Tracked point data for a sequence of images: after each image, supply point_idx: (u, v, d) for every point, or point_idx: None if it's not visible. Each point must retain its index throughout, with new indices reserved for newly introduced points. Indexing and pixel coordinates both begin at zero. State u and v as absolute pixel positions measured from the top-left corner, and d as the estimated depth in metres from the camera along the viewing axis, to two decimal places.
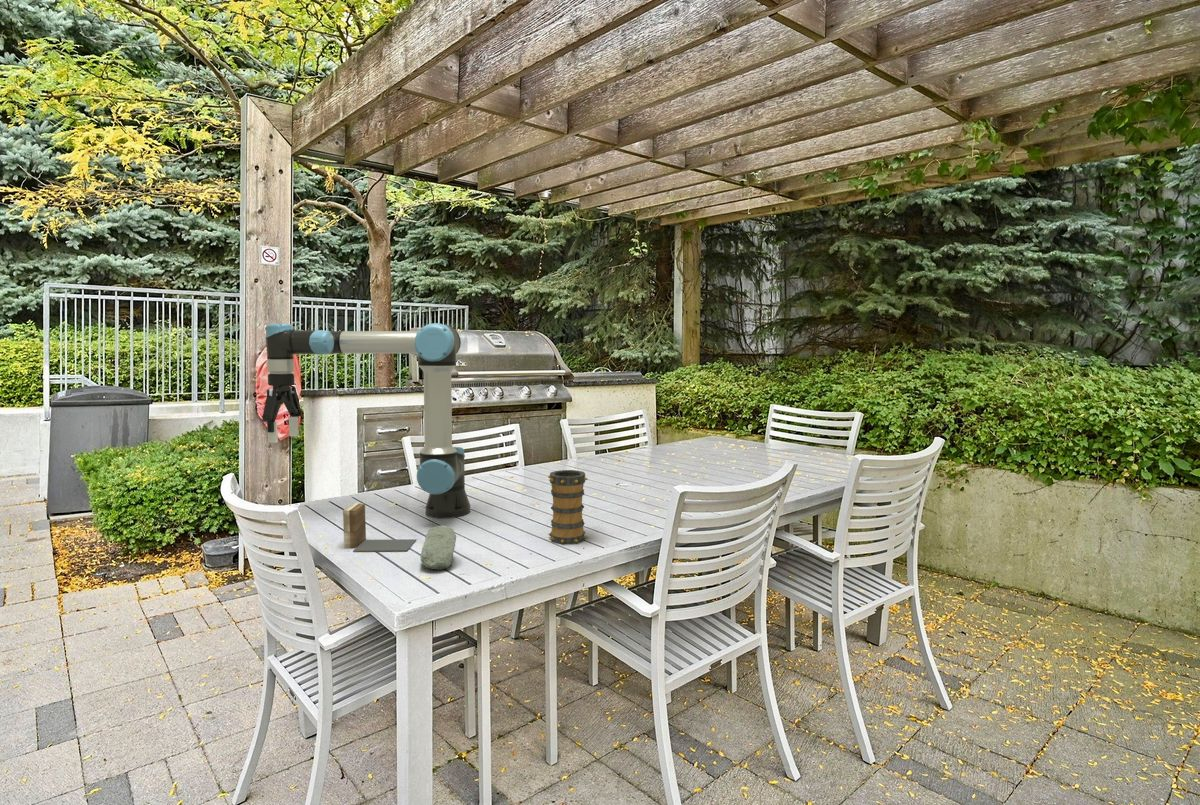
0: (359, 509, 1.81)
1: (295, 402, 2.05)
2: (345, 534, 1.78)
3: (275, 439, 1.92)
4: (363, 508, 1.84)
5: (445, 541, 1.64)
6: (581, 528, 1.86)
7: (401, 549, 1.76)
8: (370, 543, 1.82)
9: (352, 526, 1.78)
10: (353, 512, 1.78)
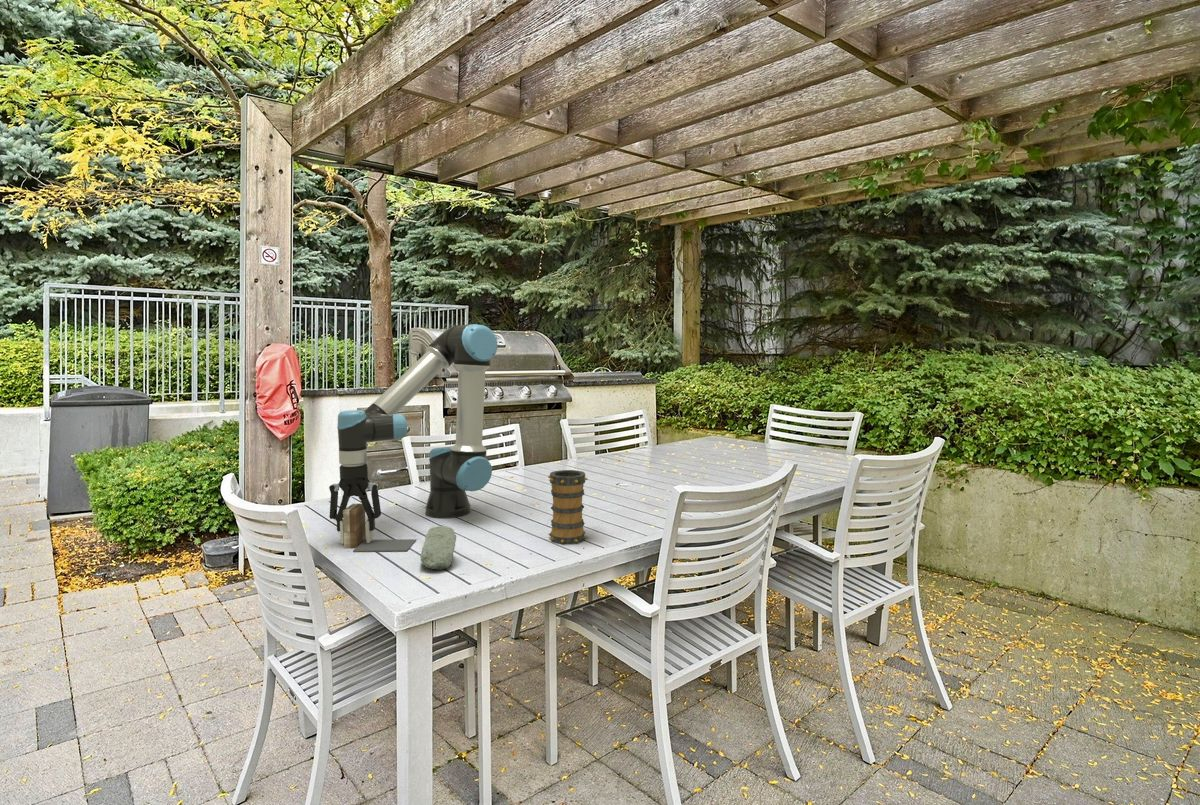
0: (359, 509, 1.81)
1: None
2: (345, 534, 1.78)
3: None
4: (363, 508, 1.84)
5: (445, 541, 1.64)
6: (581, 528, 1.86)
7: (401, 549, 1.76)
8: (370, 543, 1.82)
9: (352, 526, 1.78)
10: (353, 512, 1.78)
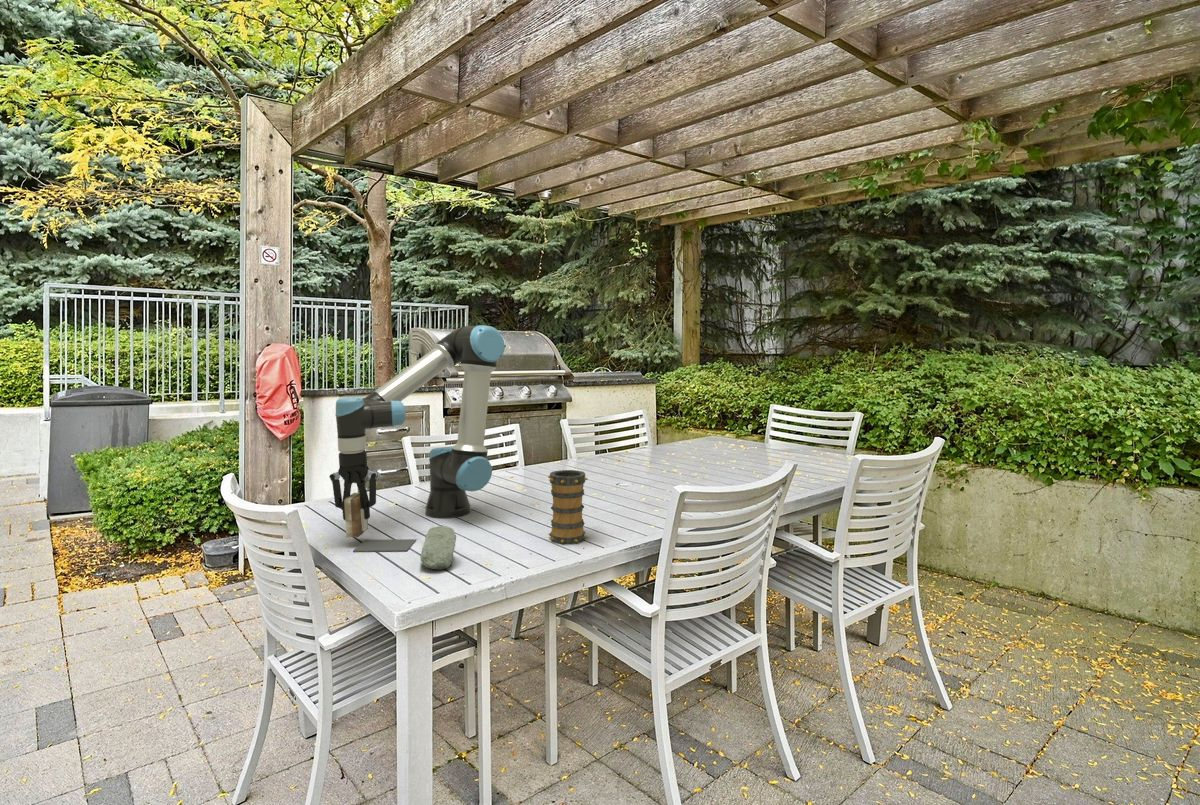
0: (360, 498, 1.81)
1: None
2: (347, 523, 1.78)
3: None
4: None
5: (445, 541, 1.64)
6: (581, 528, 1.86)
7: (401, 549, 1.76)
8: (370, 543, 1.82)
9: (354, 515, 1.78)
10: (354, 501, 1.78)
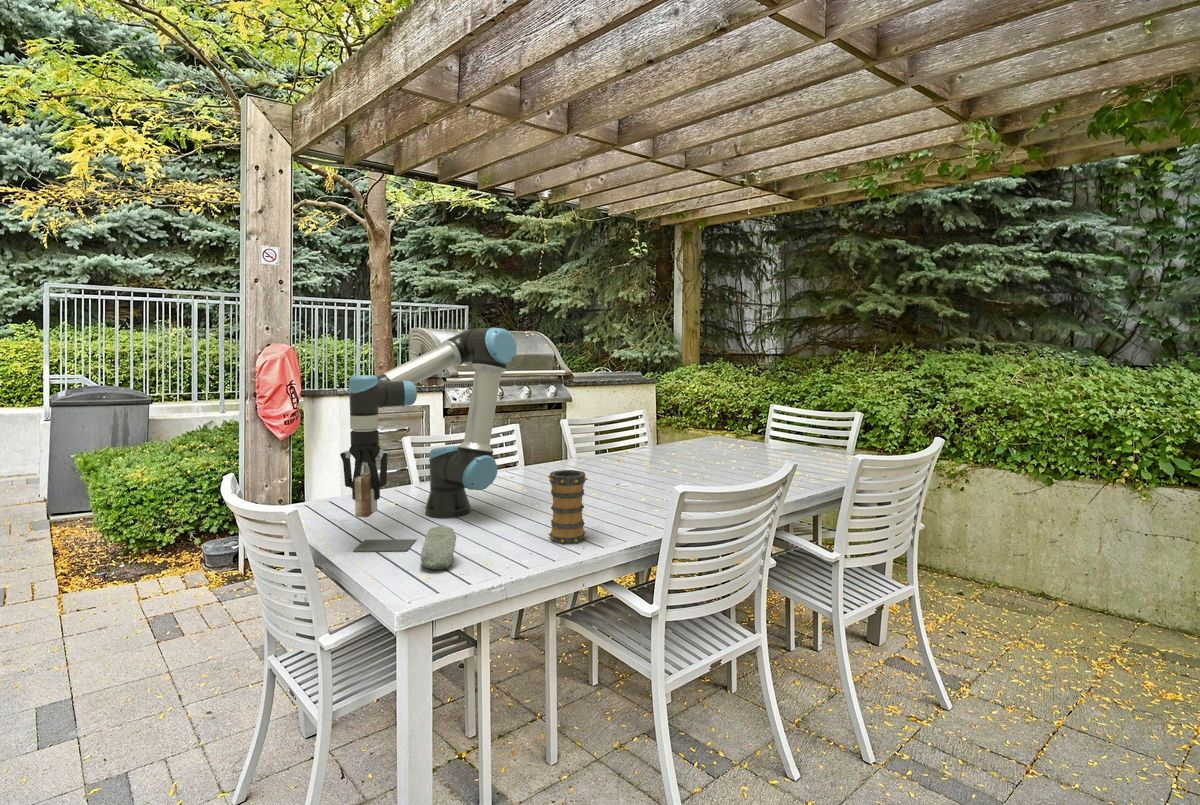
0: None
1: None
2: (356, 502, 1.75)
3: None
4: None
5: (445, 541, 1.64)
6: (581, 528, 1.86)
7: (401, 549, 1.76)
8: (370, 543, 1.82)
9: (364, 494, 1.75)
10: (365, 480, 1.74)
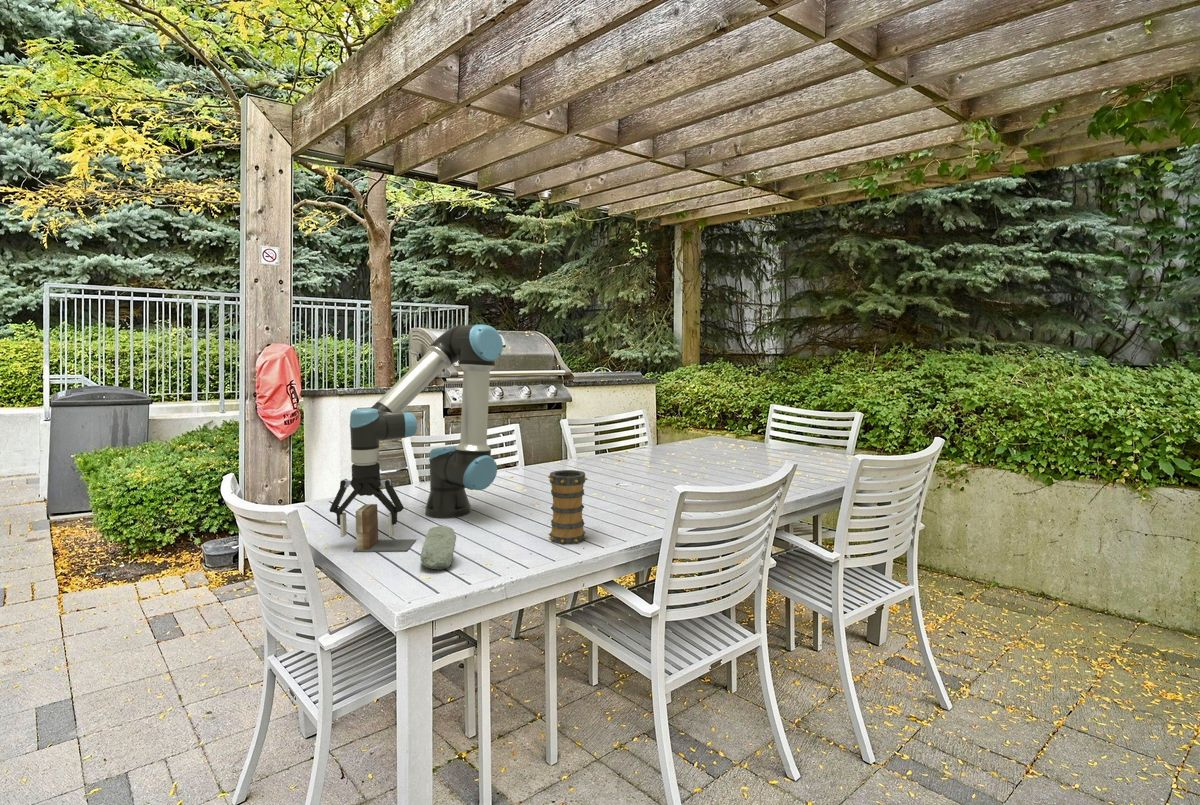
0: (372, 510, 1.78)
1: None
2: (358, 535, 1.76)
3: None
4: (375, 509, 1.82)
5: (445, 541, 1.64)
6: (581, 528, 1.86)
7: (401, 549, 1.76)
8: None
9: (365, 527, 1.76)
10: (366, 513, 1.75)
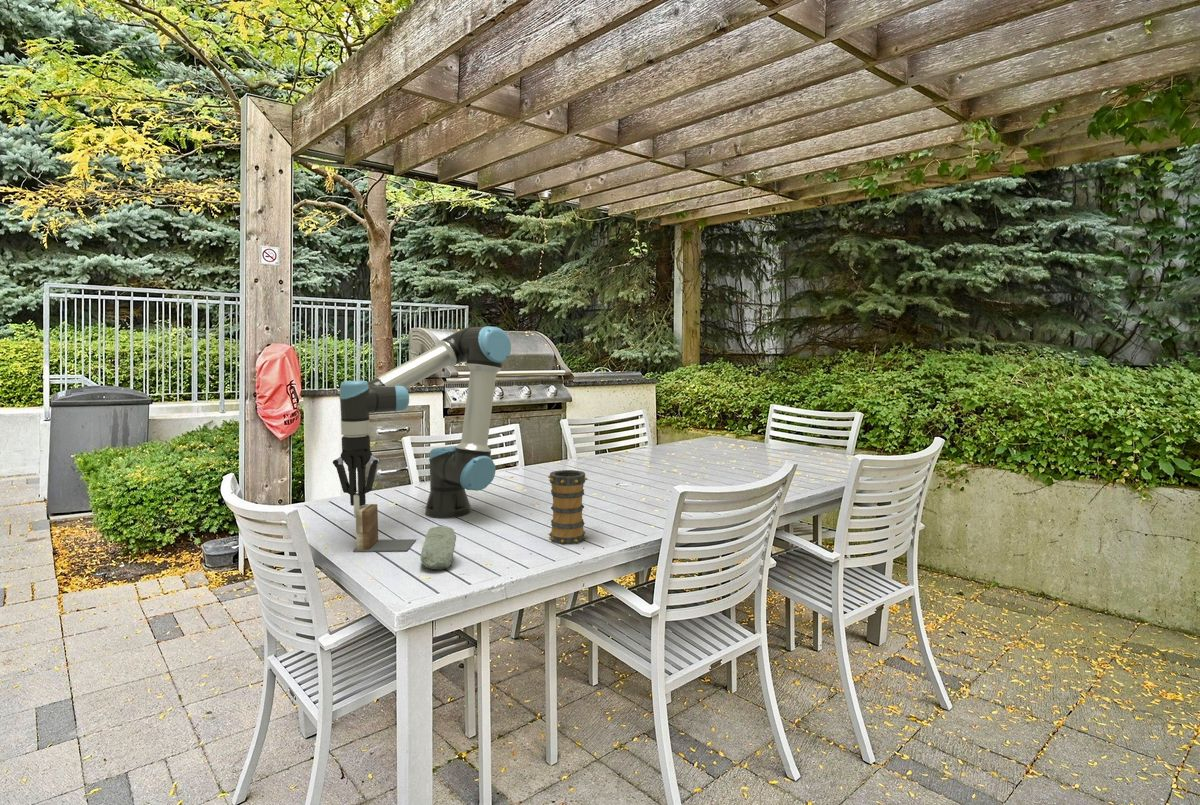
0: (372, 510, 1.78)
1: None
2: (358, 535, 1.76)
3: None
4: (376, 509, 1.82)
5: (445, 541, 1.64)
6: (581, 528, 1.86)
7: (401, 549, 1.76)
8: None
9: (365, 527, 1.76)
10: (366, 513, 1.75)
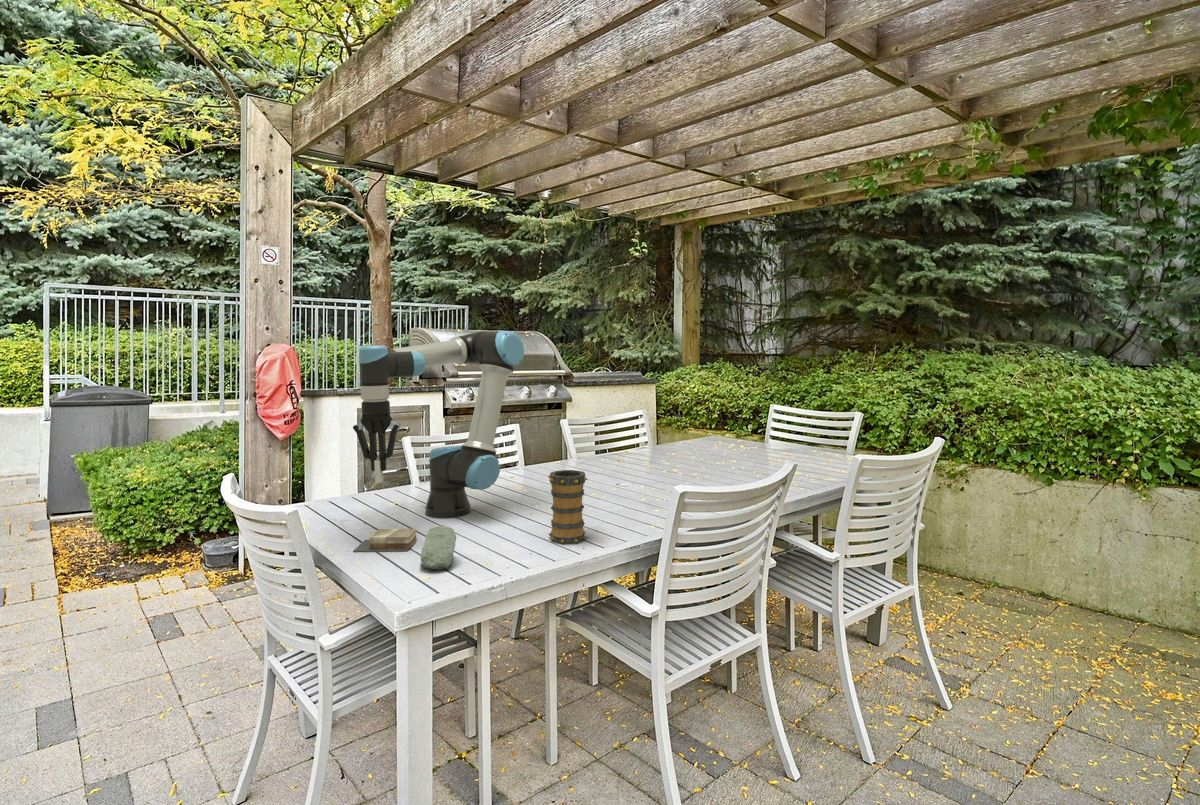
0: None
1: None
2: (383, 539, 1.76)
3: None
4: None
5: (445, 541, 1.64)
6: (581, 528, 1.86)
7: (401, 549, 1.76)
8: None
9: (392, 546, 1.76)
10: (407, 547, 1.76)
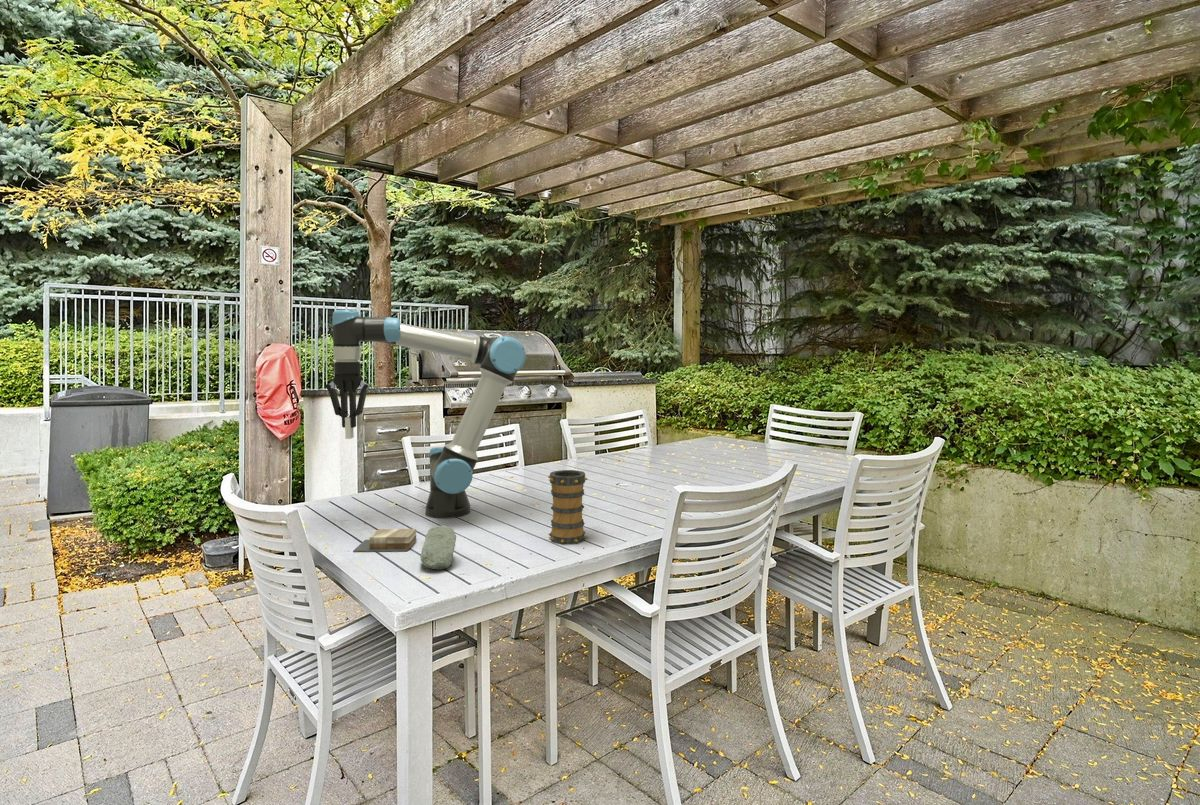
0: None
1: None
2: (383, 539, 1.76)
3: None
4: None
5: (445, 541, 1.64)
6: (581, 528, 1.86)
7: (401, 549, 1.76)
8: None
9: (392, 546, 1.76)
10: (407, 547, 1.76)
